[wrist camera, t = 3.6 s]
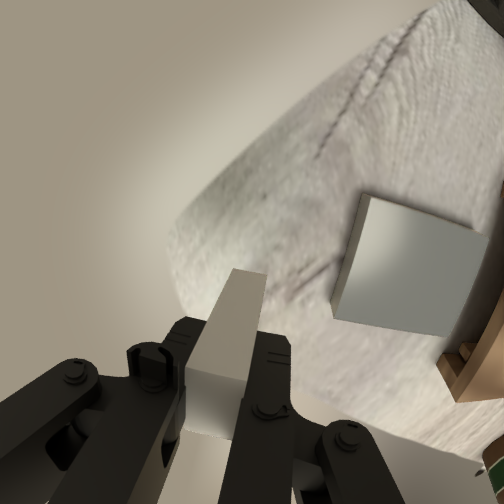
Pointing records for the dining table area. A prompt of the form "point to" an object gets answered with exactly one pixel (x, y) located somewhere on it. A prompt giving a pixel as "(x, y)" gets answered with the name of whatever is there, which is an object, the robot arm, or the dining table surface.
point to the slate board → (406, 269)
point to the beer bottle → (496, 467)
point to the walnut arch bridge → (478, 362)
